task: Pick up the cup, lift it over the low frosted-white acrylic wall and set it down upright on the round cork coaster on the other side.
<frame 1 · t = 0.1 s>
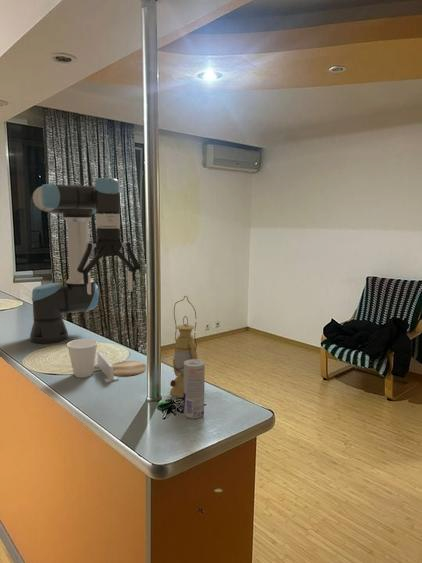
hand: (110, 292, 135), 28 cm above the counter, fingers open, 13 cm apart
lantern: (184, 392, 125), on the counter
beverage can: (193, 415, 111), on the counter
cup: (83, 375, 137), on the counter
acrylic wall: (105, 372, 139), on the counter
cork coaster: (127, 368, 143), on the counter
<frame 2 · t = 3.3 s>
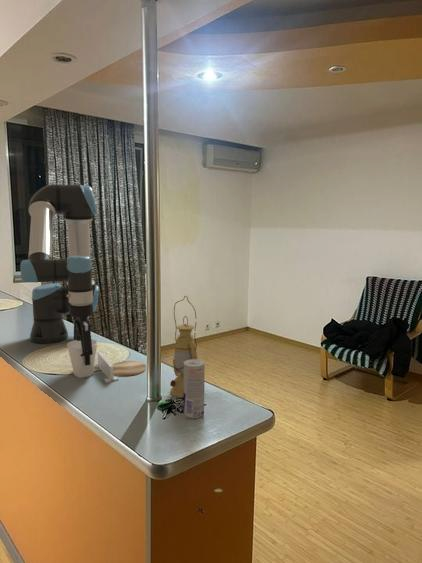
hand: (83, 368, 137), 2 cm above the counter, fingers closed on cup, 9 cm apart
cup: (83, 375, 137), on the counter, touching gripper
everything else where it was.
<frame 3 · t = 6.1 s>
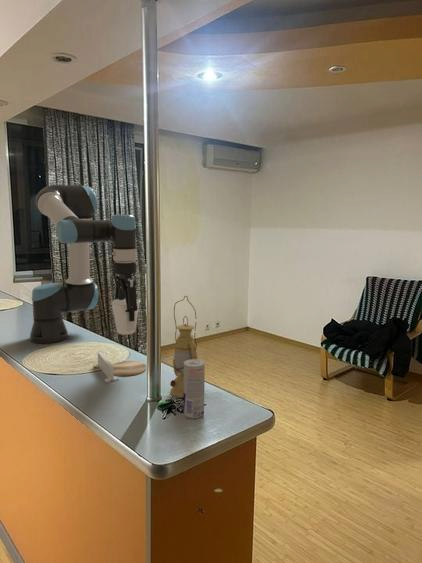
hand: (126, 326, 140), 15 cm above the counter, fingers closed on cup, 9 cm apart
cup: (126, 332, 140), point 13 cm above the counter, touching gripper
everything else where it was.
when the fingers open (3 cm above the counter, at t = 9.1 s): cup stays where it is, resting on cork coaster.
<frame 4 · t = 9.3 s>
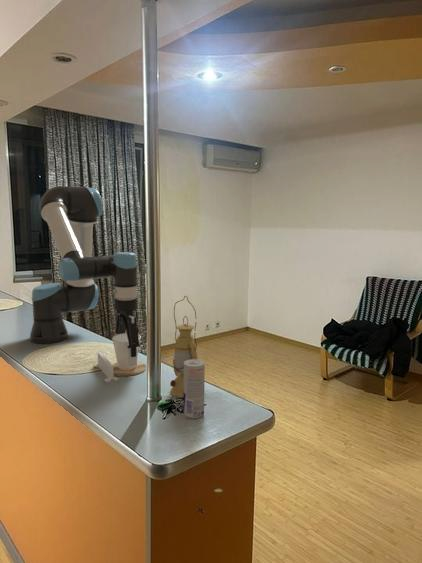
hand: (127, 359, 142), 3 cm above the counter, fingers open, 11 cm apart
cup: (127, 368, 143), resting on cork coaster
everything else where it was.
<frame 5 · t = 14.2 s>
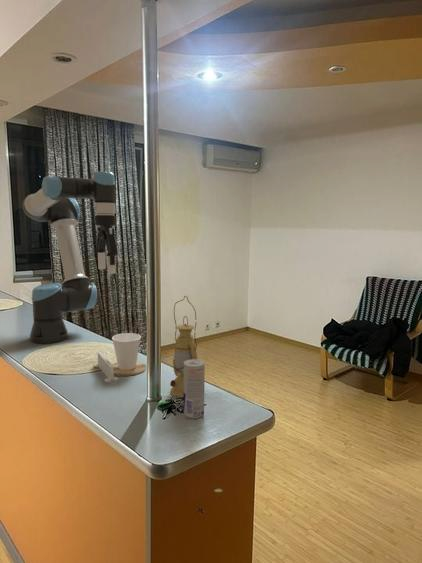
hand: (106, 271, 155), 32 cm above the counter, fingers open, 13 cm apart
nothing on the counter moved.
at the end: cup inside the target area on the cork coaster (0.1 cm from its centre), point 0.3 cm above the cork coaster's base; cup tilted 0°; the gripper is holding nothing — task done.
